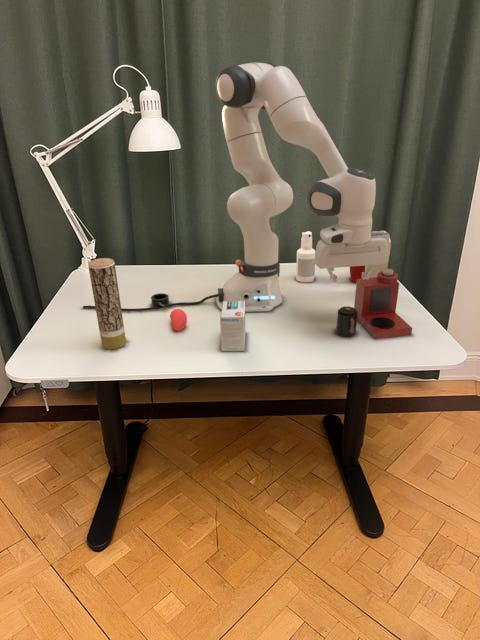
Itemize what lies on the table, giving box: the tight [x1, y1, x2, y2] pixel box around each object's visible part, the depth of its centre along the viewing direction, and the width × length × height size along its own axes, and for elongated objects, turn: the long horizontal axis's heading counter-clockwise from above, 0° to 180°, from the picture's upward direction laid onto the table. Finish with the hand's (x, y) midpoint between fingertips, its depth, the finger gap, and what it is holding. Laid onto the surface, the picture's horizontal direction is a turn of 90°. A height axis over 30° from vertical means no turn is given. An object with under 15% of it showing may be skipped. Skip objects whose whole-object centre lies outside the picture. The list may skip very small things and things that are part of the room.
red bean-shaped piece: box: [169, 308, 188, 332], centre depth 148 cm, size 5×9×6 cm
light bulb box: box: [219, 301, 246, 352], centre depth 136 cm, size 11×7×11 cm, turn 178°
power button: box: [383, 268, 395, 277], centre depth 145 cm, size 3×3×2 cm
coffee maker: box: [353, 271, 400, 324], centre depth 148 cm, size 12×6×14 cm, turn 100°
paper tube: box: [87, 257, 127, 350], centre depth 134 cm, size 7×7×25 cm
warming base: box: [360, 288, 413, 340], centre depth 142 cm, size 11×10×11 cm
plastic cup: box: [349, 266, 365, 284], centre depth 176 cm, size 11×11×12 cm
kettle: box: [335, 306, 358, 338], centre depth 140 cm, size 6×9×8 cm, turn 10°
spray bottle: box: [295, 230, 316, 283], centre depth 177 cm, size 7×7×18 cm
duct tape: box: [150, 292, 170, 308], centre depth 162 cm, size 8×10×3 cm
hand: (349, 280), depth 136 cm, fingers open, 8 cm apart
